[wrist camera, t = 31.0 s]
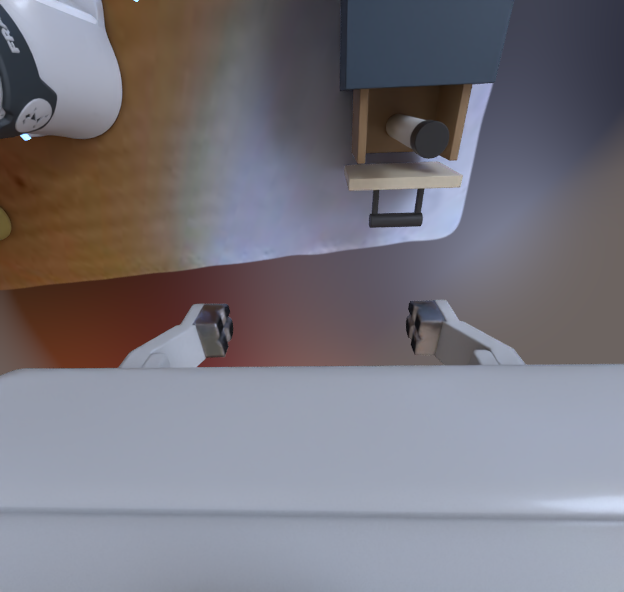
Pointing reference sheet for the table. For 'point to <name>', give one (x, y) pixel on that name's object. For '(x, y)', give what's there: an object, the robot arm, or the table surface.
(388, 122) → the marker
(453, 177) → the drawer
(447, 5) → the cabinet
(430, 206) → the table surface
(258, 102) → the table surface
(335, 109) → the table surface
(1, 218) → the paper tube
